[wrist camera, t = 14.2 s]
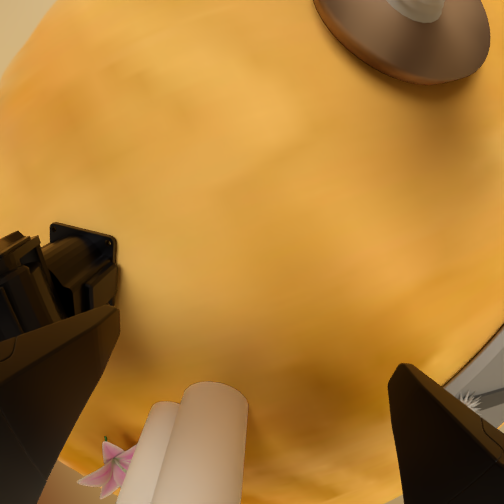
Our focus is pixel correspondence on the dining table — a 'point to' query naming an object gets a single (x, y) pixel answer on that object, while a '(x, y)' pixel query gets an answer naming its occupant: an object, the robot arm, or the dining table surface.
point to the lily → (110, 469)
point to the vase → (190, 450)
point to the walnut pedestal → (411, 38)
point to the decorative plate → (483, 382)
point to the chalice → (419, 9)
